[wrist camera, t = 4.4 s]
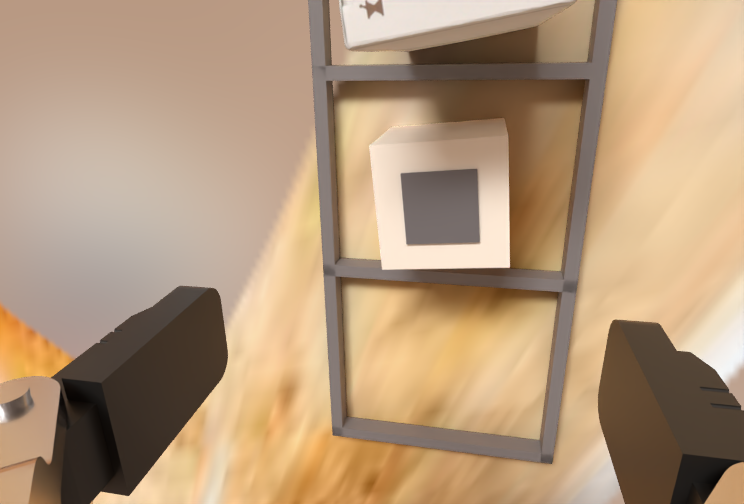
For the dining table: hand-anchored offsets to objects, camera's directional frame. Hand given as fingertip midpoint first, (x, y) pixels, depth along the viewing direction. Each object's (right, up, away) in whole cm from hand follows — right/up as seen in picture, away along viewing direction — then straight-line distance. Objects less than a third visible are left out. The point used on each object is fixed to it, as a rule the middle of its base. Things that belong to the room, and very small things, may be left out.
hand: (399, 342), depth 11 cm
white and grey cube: (+3, +5, +13) cm, 15 cm away
